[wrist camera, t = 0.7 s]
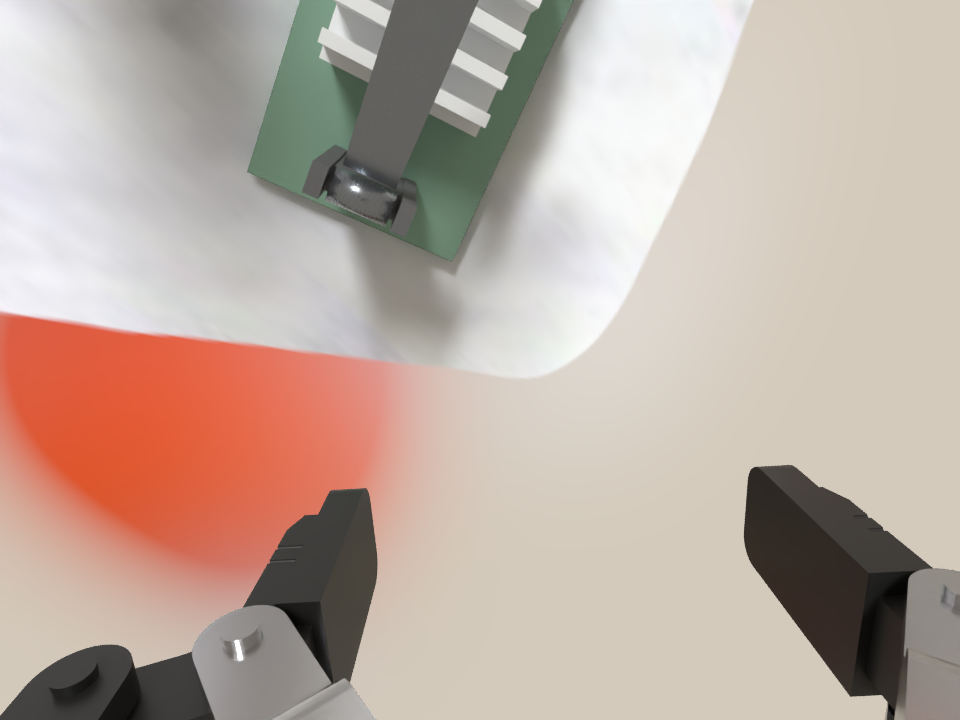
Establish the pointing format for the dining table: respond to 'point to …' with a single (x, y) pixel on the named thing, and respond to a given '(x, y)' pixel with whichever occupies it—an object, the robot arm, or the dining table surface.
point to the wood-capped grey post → (398, 101)
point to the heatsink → (447, 130)
